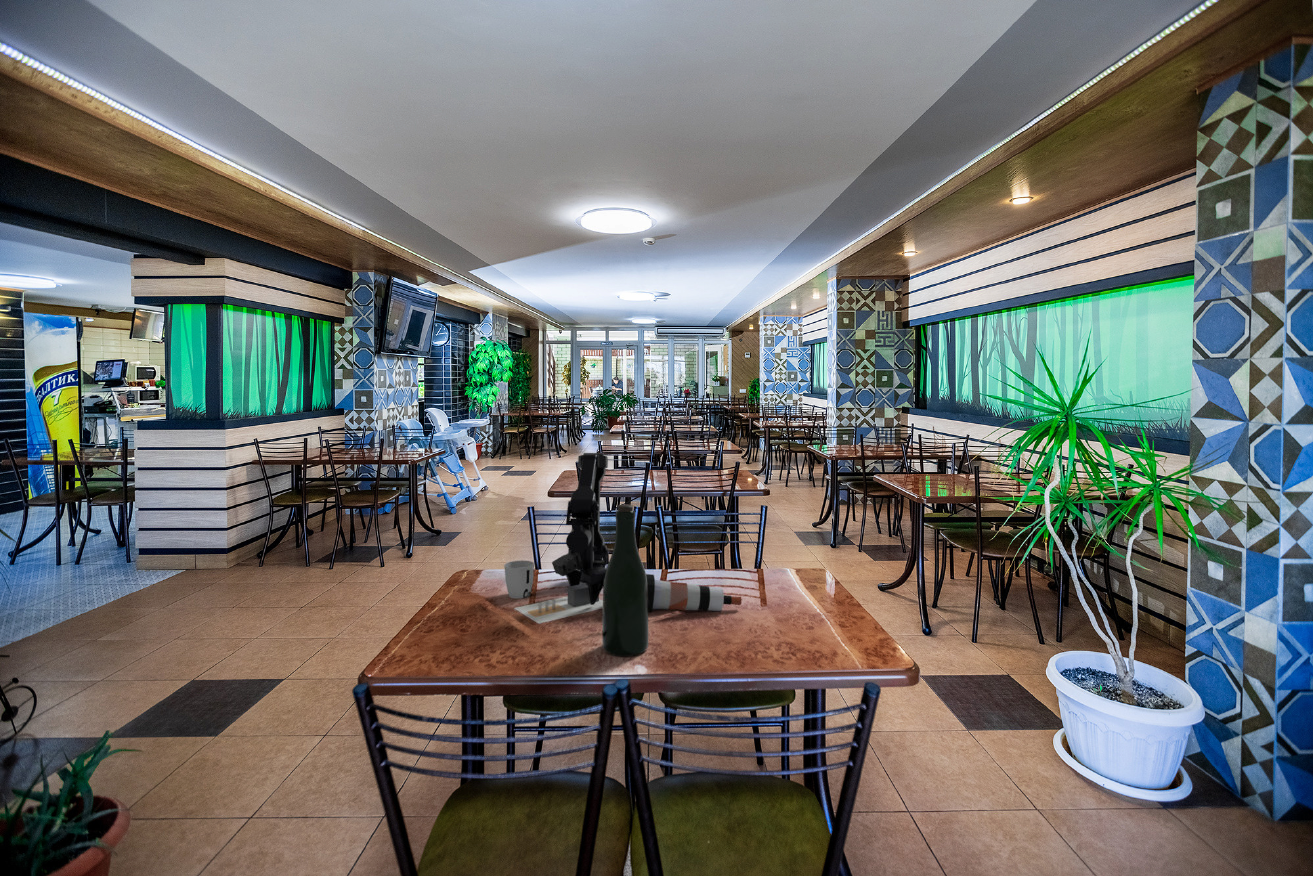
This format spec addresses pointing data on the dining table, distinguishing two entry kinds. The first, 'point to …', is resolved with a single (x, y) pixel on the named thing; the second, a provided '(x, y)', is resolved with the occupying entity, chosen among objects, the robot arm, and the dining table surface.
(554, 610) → the board
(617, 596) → the beer bottle
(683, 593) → the striped bottle lying down
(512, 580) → the cup
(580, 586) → the block
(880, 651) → the dining table surface
